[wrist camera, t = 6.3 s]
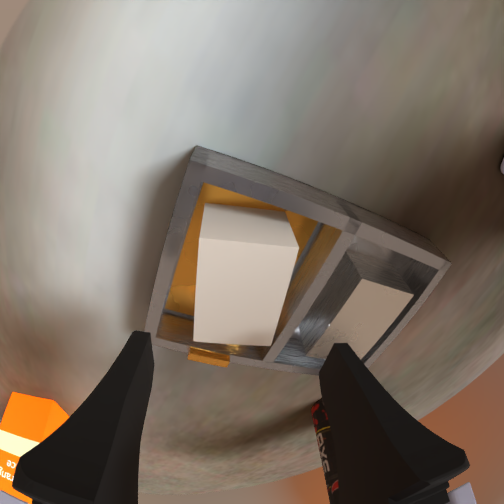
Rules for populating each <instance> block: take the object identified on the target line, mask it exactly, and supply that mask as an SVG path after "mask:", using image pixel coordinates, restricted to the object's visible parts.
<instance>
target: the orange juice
mask: <svg viewBox="0 0 504 504" xmlns="http://www.w3.org/2000/svg"><path fill="white" fill-rule="evenodd" d="M68 418H69V416H68V415H67V414H66V413H65V412H64V411H63V410H62V409H61V408H60V406H59V405H58V404H57V403H56V402H55V401H54V400H49V399H44V398H39V397H34V396H29V395H24V394H20V393H16V392H12V395H11V397H10V400H9V402H8V405H7V407H6V410H5V413H4V416H3V418H2V421H1V424H0V490H3V491H5V492H7V493H8V494H10V495H12V496H14V497H17V498H19V499H21V500H23V501H25V502H27V503H29V504H32V499H31V498H29V497H27V496H25V495H23V494H22V493H20V492H18V491H16V490H15V489H13V487H12V482H13V477H14V473H15V468H16V465H17V463H18V461H19V458H20V457H21V456H22V455H23V454H25V453H26V452H28V451H29V450H31V449H32V448H33V447H35V446H36V445H38V444H39V443H40V442H42V441H43V440H44V439H46V438H47V437H48V436H49V435H50V434H51V433H53V432H54V431H55V430H56V429H57V428H59V427H60V426H61V425H62V424H63V423H64V422H65V421H66V420H67V419H68Z"/></svg>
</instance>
